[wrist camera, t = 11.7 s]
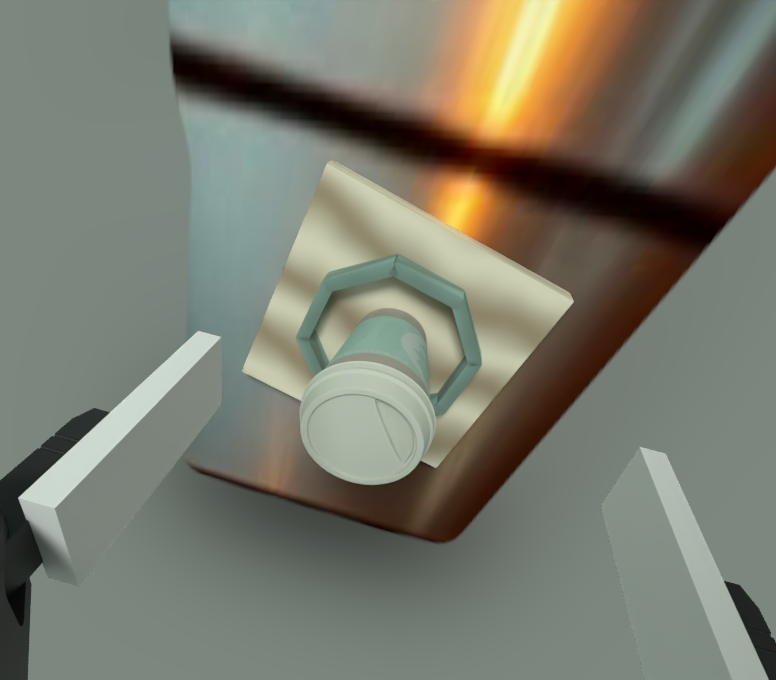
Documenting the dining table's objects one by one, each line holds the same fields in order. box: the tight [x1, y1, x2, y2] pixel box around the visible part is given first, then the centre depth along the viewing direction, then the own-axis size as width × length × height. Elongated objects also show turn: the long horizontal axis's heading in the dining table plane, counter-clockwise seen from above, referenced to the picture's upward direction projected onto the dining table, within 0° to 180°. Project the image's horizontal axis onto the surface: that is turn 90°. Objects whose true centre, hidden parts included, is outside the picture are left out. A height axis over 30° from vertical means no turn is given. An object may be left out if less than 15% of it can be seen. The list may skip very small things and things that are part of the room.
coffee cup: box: [299, 308, 436, 485], centre depth 33 cm, size 8×8×12 cm
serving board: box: [242, 160, 574, 468], centre depth 38 cm, size 20×20×3 cm
